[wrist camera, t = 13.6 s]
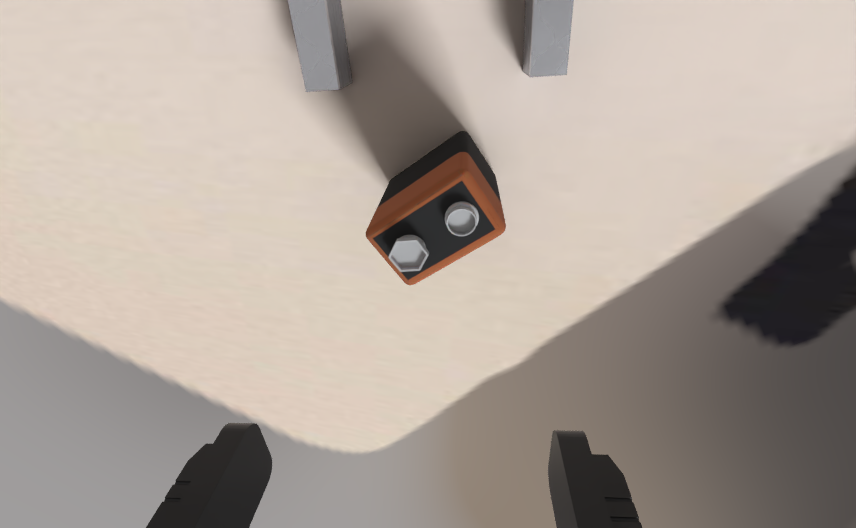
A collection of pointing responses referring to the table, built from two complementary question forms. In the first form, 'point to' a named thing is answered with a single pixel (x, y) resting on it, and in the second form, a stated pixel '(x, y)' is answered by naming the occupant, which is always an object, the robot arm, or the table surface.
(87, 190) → the table surface
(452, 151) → the battery
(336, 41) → the housing
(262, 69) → the table surface
